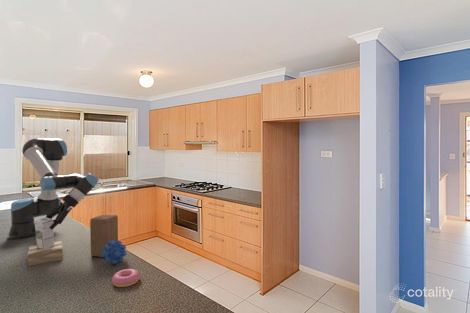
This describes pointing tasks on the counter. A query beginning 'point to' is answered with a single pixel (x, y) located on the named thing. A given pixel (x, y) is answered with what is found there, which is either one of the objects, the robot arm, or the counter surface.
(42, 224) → the syrup box
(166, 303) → the counter surface
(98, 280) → the counter surface
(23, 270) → the counter surface
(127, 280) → the doughnut
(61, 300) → the counter surface
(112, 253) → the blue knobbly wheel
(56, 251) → the birch block
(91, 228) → the wooden block
